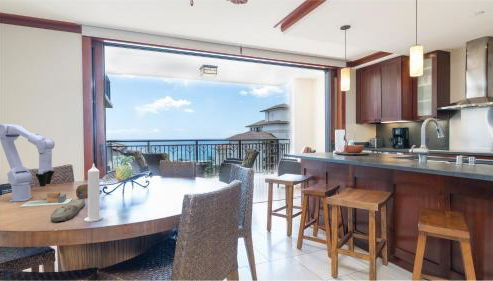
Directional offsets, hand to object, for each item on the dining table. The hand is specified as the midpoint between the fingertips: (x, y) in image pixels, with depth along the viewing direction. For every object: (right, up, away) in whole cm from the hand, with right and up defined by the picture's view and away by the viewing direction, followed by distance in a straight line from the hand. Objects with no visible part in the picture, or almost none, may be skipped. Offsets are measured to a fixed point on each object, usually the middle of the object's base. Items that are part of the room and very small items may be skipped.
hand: (45, 185), depth 151 cm
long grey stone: (+27, -10, -20) cm, 35 cm away
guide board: (+4, -9, -3) cm, 11 cm away
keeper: (+7, -9, -2) cm, 12 cm away
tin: (+17, -10, +12) cm, 22 cm away
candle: (+45, -10, -31) cm, 55 cm away
